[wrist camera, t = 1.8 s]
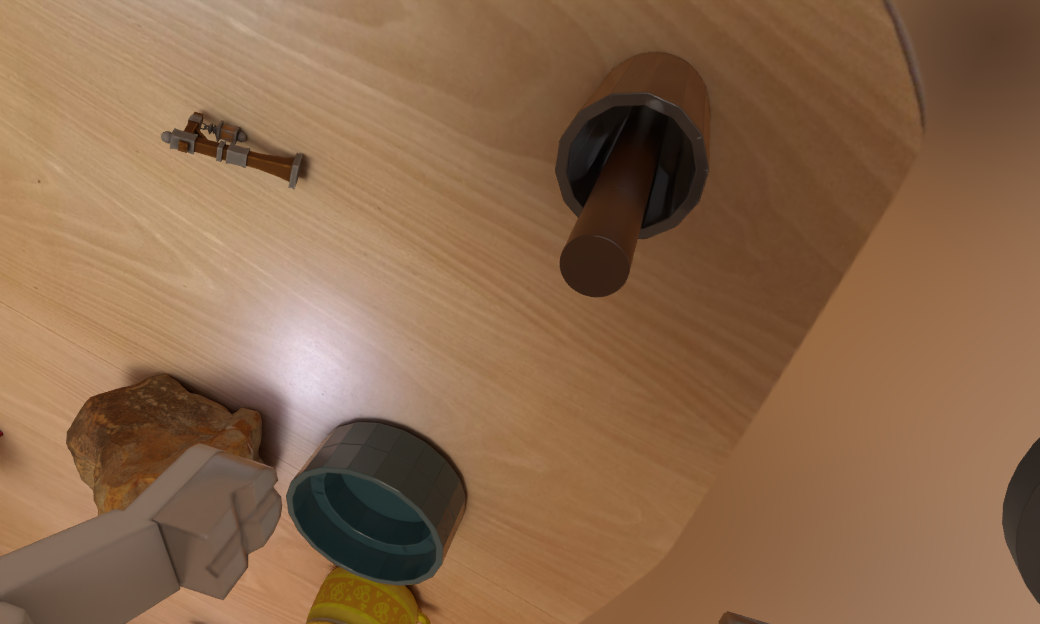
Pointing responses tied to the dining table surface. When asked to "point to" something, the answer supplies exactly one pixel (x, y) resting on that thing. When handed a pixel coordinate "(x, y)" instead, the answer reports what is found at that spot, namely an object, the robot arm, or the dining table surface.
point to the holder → (683, 147)
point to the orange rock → (151, 436)
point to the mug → (363, 602)
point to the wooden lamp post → (230, 149)
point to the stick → (615, 209)
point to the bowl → (378, 503)
